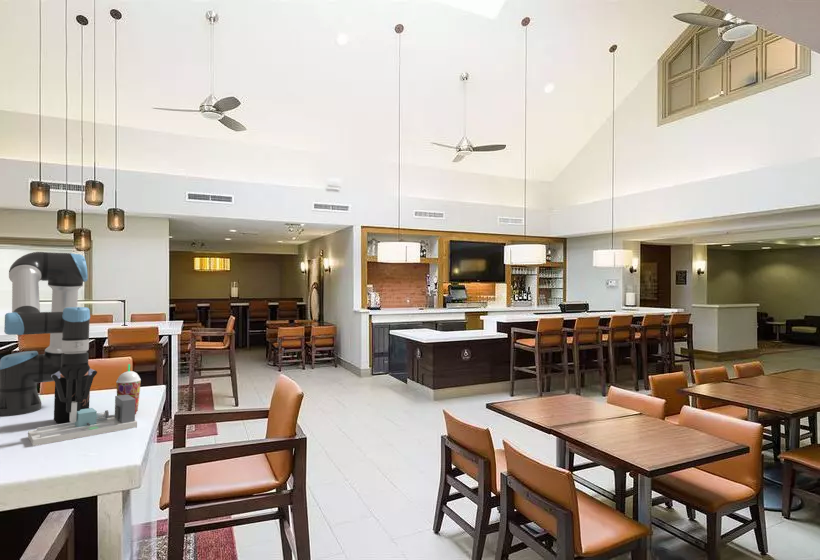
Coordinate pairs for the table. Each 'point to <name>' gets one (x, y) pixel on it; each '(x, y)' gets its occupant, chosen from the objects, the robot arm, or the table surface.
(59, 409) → the coffee jar
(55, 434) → the board
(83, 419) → the gauge slider
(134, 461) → the table surface
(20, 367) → the robot arm
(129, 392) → the smoothie
